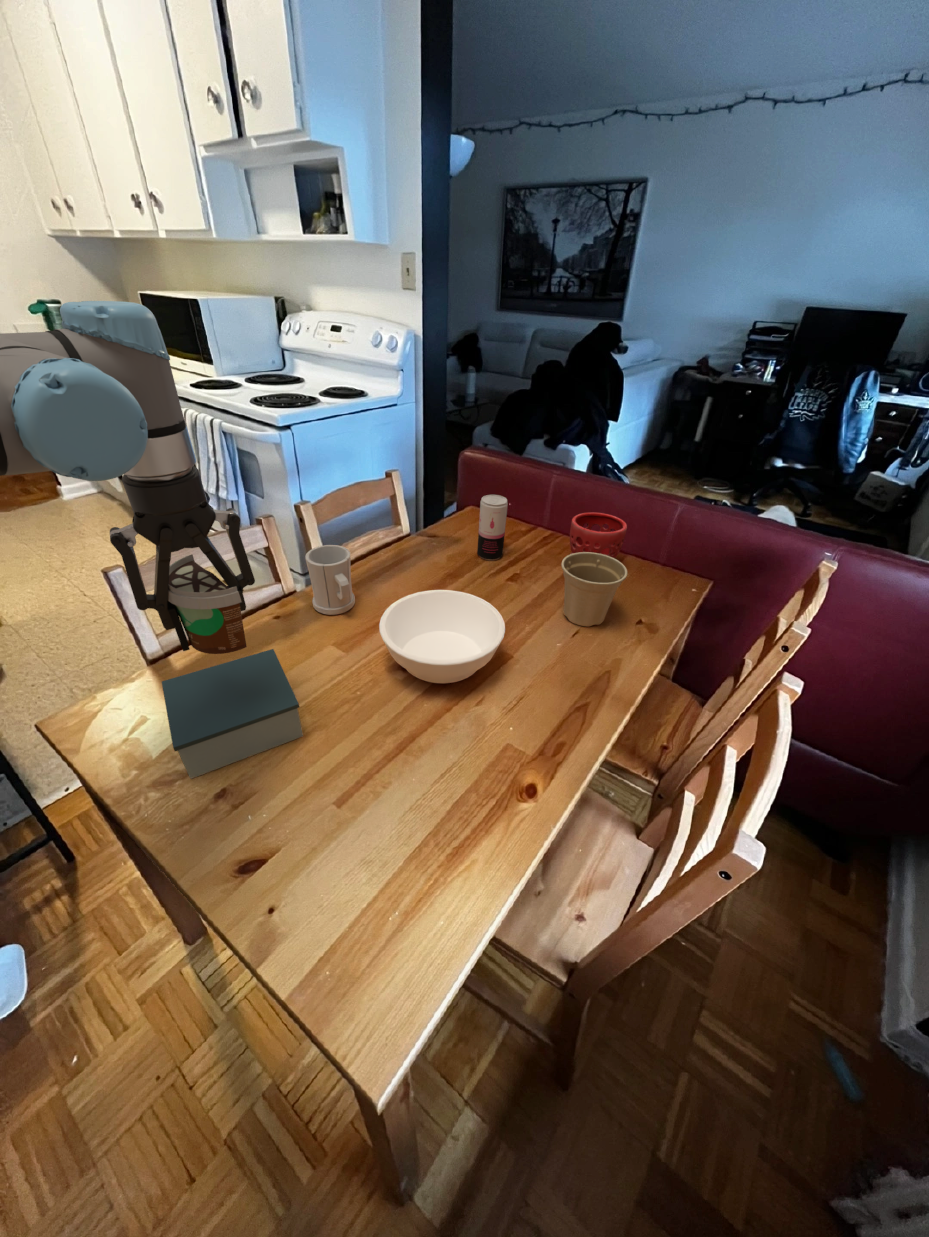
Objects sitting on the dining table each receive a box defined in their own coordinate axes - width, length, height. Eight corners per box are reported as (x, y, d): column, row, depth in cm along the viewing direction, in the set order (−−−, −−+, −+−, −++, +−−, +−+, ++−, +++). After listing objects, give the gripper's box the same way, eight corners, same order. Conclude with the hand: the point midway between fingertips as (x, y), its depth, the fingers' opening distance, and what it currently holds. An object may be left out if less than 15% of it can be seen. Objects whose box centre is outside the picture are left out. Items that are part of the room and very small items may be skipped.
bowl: (409, 717, 81) (407, 679, 76) (365, 640, 97) (362, 604, 92) (524, 678, 90) (529, 642, 85) (466, 613, 106) (468, 579, 101)
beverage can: (505, 552, 130) (511, 497, 121) (497, 563, 125) (503, 507, 116) (482, 547, 131) (486, 492, 123) (473, 557, 126) (476, 501, 118)
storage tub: (188, 781, 70) (173, 747, 66) (175, 714, 80) (161, 681, 75) (305, 736, 77) (299, 703, 73) (280, 680, 87) (273, 648, 83)
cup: (369, 599, 109) (365, 550, 102) (349, 622, 102) (343, 571, 95) (326, 589, 111) (320, 541, 104) (304, 611, 104) (295, 561, 97)
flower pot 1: (623, 562, 128) (634, 519, 121) (606, 584, 119) (617, 538, 112) (575, 548, 133) (584, 505, 126) (556, 567, 124) (563, 523, 117)
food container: (162, 631, 69) (141, 567, 63) (206, 613, 73) (190, 552, 67) (207, 673, 62) (187, 607, 57) (252, 651, 66) (238, 588, 61)
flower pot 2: (549, 597, 113) (558, 549, 106) (607, 600, 113) (619, 553, 106) (556, 631, 102) (566, 581, 95) (620, 635, 102) (634, 585, 95)
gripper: (244, 449, 61) (277, 605, 74) (54, 471, 52) (130, 642, 66) (258, 468, 56) (291, 632, 69) (50, 496, 47) (133, 676, 61)
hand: (212, 637), depth 68 cm, fingers closed on food container, 6 cm apart
